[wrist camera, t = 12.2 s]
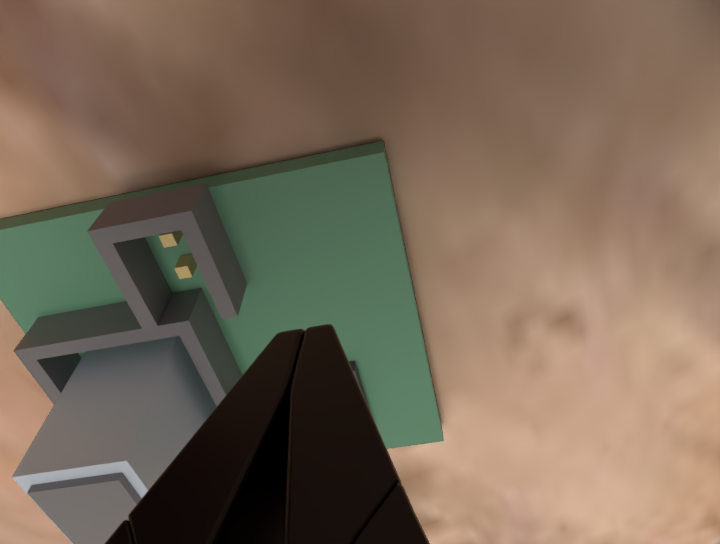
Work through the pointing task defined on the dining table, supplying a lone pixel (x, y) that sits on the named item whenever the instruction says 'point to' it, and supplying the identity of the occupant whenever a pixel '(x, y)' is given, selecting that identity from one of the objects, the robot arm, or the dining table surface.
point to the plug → (113, 435)
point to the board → (248, 268)
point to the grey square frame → (128, 341)
